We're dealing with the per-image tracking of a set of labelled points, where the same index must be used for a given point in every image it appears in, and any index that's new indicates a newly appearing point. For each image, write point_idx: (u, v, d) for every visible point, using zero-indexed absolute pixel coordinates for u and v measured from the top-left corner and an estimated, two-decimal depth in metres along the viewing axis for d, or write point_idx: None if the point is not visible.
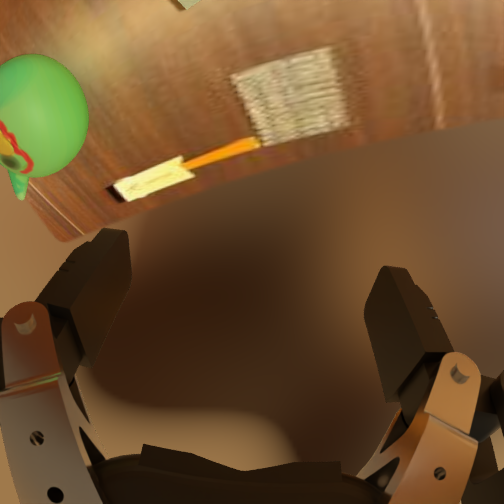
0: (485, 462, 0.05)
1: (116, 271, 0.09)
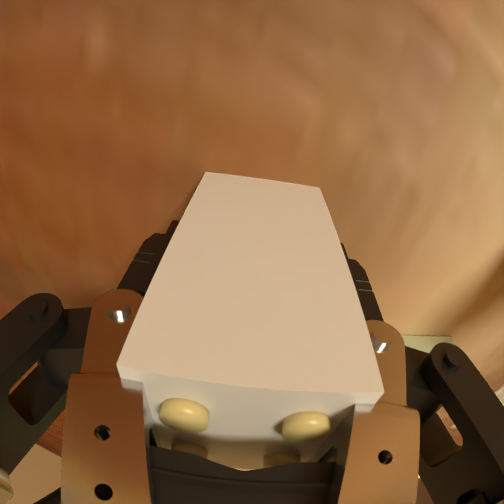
0: (438, 439, 0.06)
1: None
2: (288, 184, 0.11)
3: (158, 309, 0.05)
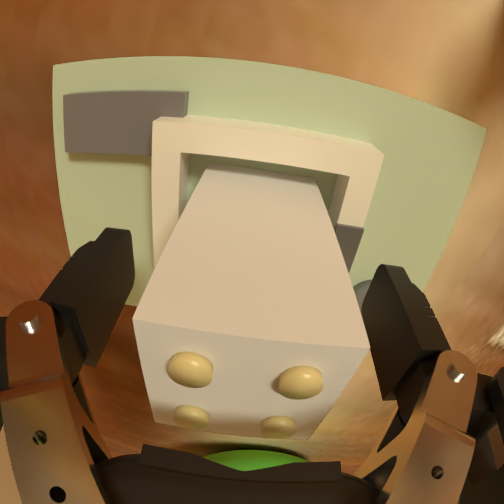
0: (483, 461, 0.05)
1: (120, 270, 0.09)
2: (286, 175, 0.11)
3: (169, 274, 0.06)
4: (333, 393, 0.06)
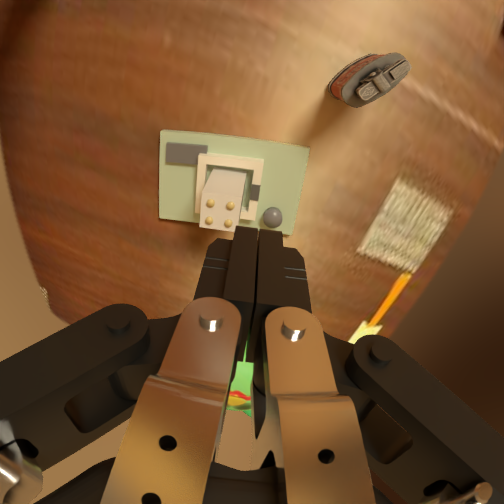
0: (385, 432, 0.06)
1: None
2: (237, 170, 0.38)
3: (207, 187, 0.32)
4: (238, 210, 0.32)
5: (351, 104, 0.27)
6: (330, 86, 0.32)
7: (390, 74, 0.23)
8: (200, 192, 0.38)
